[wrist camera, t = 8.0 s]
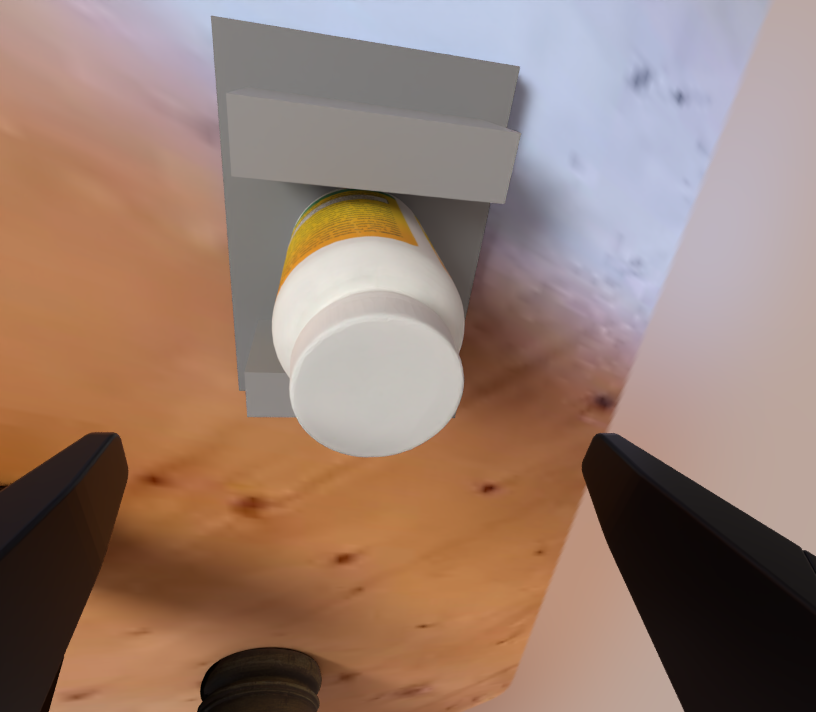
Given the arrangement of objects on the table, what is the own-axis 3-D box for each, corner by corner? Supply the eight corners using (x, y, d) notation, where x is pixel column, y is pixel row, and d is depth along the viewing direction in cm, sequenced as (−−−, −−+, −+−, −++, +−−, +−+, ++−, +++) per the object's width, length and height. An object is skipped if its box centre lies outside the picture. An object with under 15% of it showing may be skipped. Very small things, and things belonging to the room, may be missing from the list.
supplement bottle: (450, 242, 19) (542, 373, 11) (368, 333, 20) (395, 506, 12) (344, 149, 16) (362, 230, 8) (261, 262, 18) (209, 419, 10)
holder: (444, 382, 24) (469, 450, 20) (242, 378, 22) (222, 452, 18) (510, 66, 17) (572, 66, 12) (217, 18, 15) (173, -1, 10)
